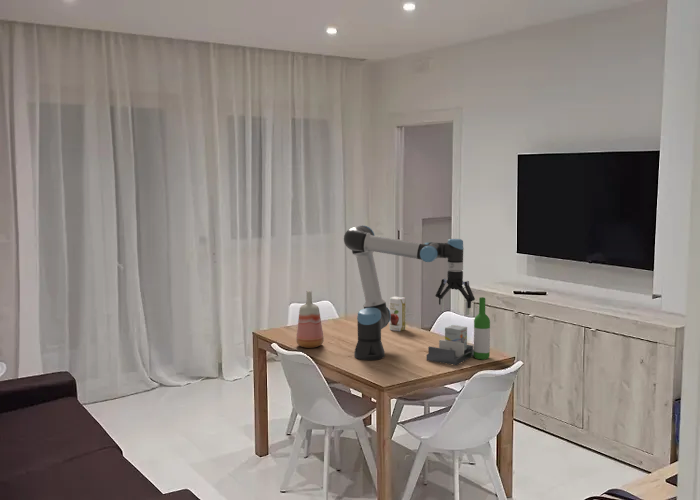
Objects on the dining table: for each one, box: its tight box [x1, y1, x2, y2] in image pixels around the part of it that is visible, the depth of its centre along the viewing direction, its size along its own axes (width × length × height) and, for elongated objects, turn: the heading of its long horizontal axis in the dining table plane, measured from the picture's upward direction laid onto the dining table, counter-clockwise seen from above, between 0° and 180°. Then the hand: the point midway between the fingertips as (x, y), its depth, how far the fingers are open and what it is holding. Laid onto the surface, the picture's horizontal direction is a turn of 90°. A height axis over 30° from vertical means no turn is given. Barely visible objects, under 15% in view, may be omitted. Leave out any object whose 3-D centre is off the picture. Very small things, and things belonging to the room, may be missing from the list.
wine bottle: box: [473, 296, 491, 361], centre depth 324 cm, size 8×8×30 cm
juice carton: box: [388, 295, 407, 332], centre depth 384 cm, size 8×9×19 cm
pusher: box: [438, 339, 464, 357], centre depth 325 cm, size 13×6×7 cm, turn 55°
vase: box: [295, 290, 325, 349], centre depth 349 cm, size 14×14×30 cm
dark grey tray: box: [426, 344, 474, 366], centre depth 326 cm, size 16×21×7 cm
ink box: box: [444, 324, 468, 351], centre depth 330 cm, size 9×9×12 cm
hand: (454, 313), depth 328 cm, fingers open, 13 cm apart
